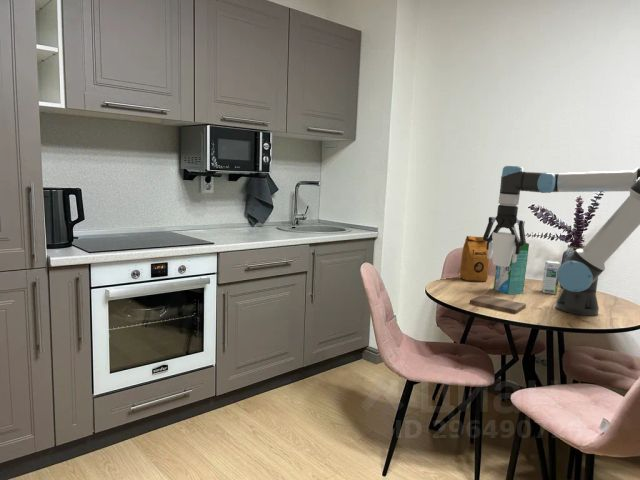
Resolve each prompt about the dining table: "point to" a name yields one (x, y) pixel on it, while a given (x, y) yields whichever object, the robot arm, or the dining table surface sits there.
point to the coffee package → (474, 259)
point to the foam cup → (502, 248)
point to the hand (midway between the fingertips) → (501, 260)
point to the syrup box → (550, 277)
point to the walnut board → (498, 304)
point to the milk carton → (512, 274)
